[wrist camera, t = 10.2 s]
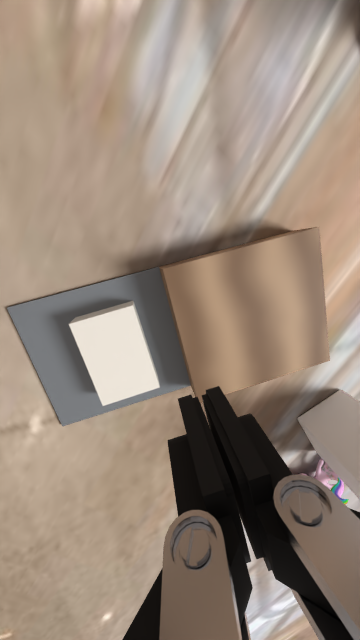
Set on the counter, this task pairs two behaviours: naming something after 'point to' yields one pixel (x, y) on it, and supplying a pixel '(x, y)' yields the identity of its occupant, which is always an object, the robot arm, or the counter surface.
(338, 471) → the milk carton
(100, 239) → the counter surface
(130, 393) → the cream rectangular block
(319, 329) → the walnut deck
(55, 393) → the rubber mat
